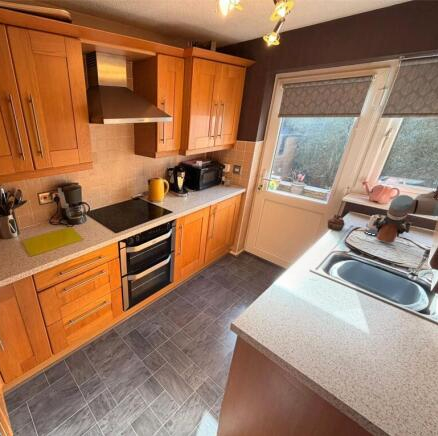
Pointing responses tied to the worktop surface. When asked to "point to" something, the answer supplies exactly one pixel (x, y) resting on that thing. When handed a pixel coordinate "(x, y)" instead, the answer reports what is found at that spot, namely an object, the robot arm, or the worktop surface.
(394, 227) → the jar
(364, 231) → the lid
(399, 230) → the robot arm
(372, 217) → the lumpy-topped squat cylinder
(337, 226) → the cupcake
